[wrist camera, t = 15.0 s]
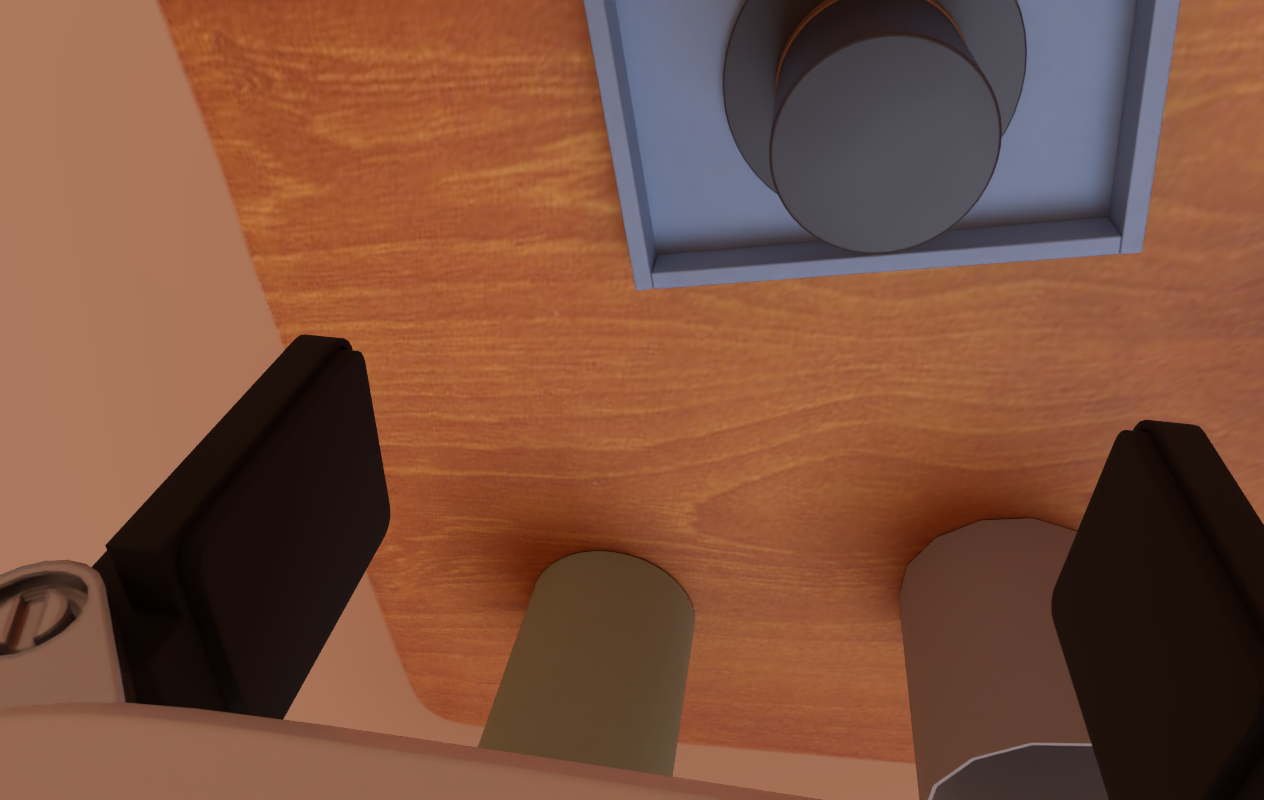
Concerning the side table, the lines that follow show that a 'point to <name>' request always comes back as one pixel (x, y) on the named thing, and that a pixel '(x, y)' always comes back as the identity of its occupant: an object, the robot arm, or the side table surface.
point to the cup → (993, 668)
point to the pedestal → (597, 666)
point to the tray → (989, 233)
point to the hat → (874, 110)
